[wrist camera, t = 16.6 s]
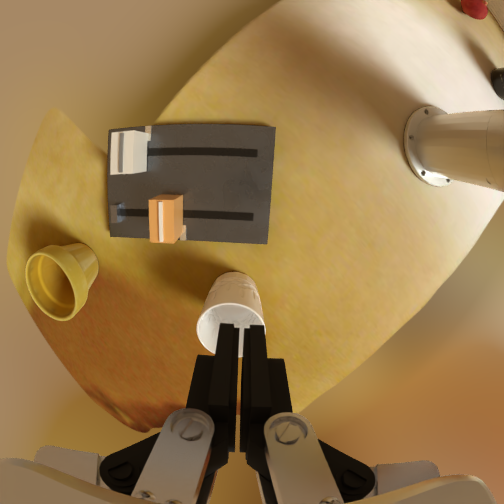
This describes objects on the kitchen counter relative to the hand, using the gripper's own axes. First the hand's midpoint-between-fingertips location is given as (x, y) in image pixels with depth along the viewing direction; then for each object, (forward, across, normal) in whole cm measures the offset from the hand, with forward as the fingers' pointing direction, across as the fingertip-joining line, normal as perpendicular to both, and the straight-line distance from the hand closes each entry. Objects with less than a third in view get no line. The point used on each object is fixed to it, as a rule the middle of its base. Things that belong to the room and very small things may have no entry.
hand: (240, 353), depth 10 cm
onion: (+27, -40, -48) cm, 68 cm away
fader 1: (+25, +14, -8) cm, 30 cm away
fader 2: (+25, +10, 0) cm, 27 cm away
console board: (+27, +8, -4) cm, 29 cm away
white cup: (+27, +1, +12) cm, 30 cm away
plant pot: (+27, +26, +8) cm, 39 cm away
